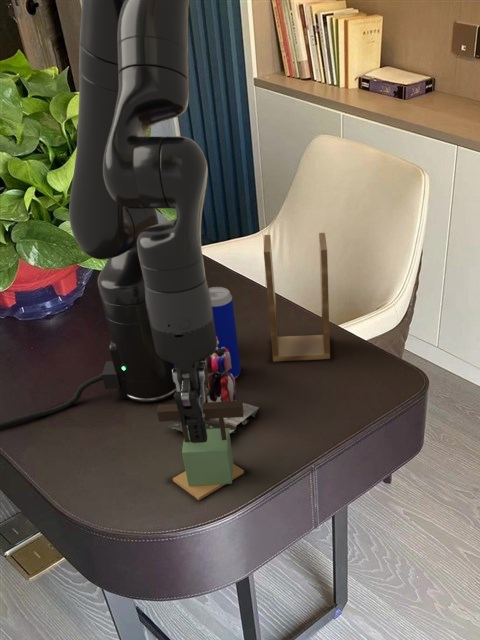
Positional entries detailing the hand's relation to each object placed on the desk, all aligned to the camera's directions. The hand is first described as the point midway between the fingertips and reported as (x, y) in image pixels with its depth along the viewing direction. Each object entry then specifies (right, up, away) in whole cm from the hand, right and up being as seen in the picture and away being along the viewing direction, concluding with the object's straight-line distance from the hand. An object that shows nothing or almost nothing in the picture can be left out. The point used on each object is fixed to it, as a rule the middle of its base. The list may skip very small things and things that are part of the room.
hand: (200, 429), depth 97 cm
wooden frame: (+11, +16, +32) cm, 38 cm away
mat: (0, -6, +5) cm, 8 cm away
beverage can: (-1, +11, +26) cm, 28 cm away
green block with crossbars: (0, -6, +5) cm, 8 cm away
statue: (-1, +2, +15) cm, 16 cm away
